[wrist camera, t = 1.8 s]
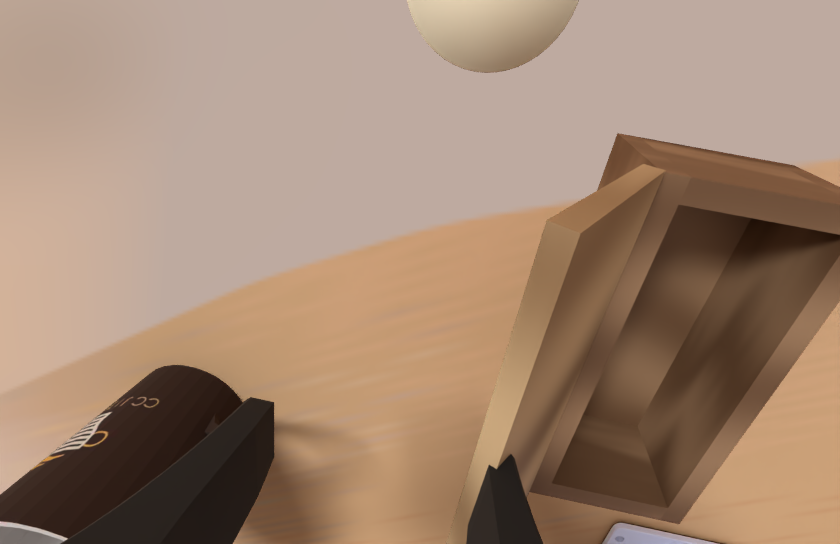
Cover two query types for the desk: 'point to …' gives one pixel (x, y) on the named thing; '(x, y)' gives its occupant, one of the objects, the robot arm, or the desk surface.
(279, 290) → the desk surface
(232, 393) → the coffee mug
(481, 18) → the cream domed disc
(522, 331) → the lid
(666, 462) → the walnut box
